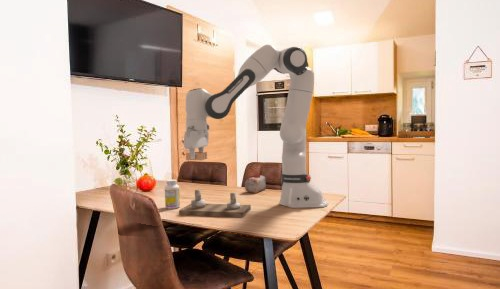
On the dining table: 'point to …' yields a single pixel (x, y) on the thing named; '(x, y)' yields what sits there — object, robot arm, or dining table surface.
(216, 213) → the board
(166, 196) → the supplement bottle
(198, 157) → the tan faceted disc
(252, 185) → the food item
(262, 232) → the dining table surface
